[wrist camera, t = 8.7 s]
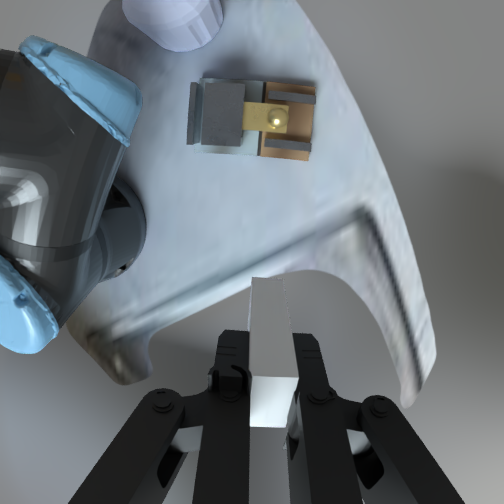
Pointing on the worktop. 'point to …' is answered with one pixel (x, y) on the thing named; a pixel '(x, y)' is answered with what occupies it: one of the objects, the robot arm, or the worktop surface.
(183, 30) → the soap bottle
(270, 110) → the bolt
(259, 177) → the worktop surface
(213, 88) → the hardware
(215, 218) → the worktop surface
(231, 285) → the worktop surface
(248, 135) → the panel
